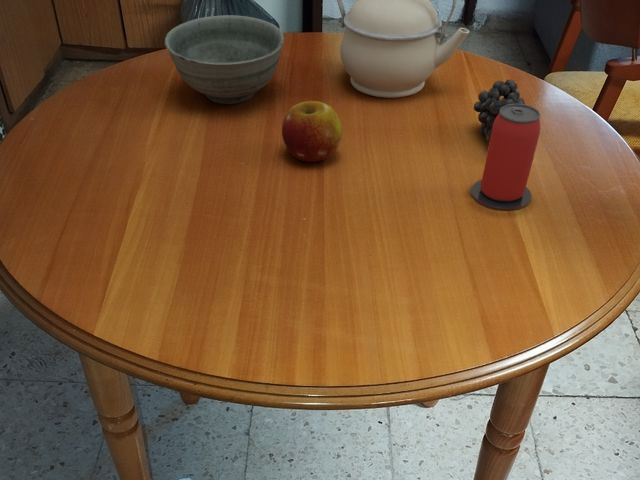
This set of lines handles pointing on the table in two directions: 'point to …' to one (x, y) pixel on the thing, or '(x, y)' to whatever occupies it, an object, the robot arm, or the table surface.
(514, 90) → the fruit
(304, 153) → the fruit
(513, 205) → the coaster
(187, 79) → the bowl
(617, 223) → the table surface
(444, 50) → the kettle
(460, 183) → the table surface
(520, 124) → the beer can
